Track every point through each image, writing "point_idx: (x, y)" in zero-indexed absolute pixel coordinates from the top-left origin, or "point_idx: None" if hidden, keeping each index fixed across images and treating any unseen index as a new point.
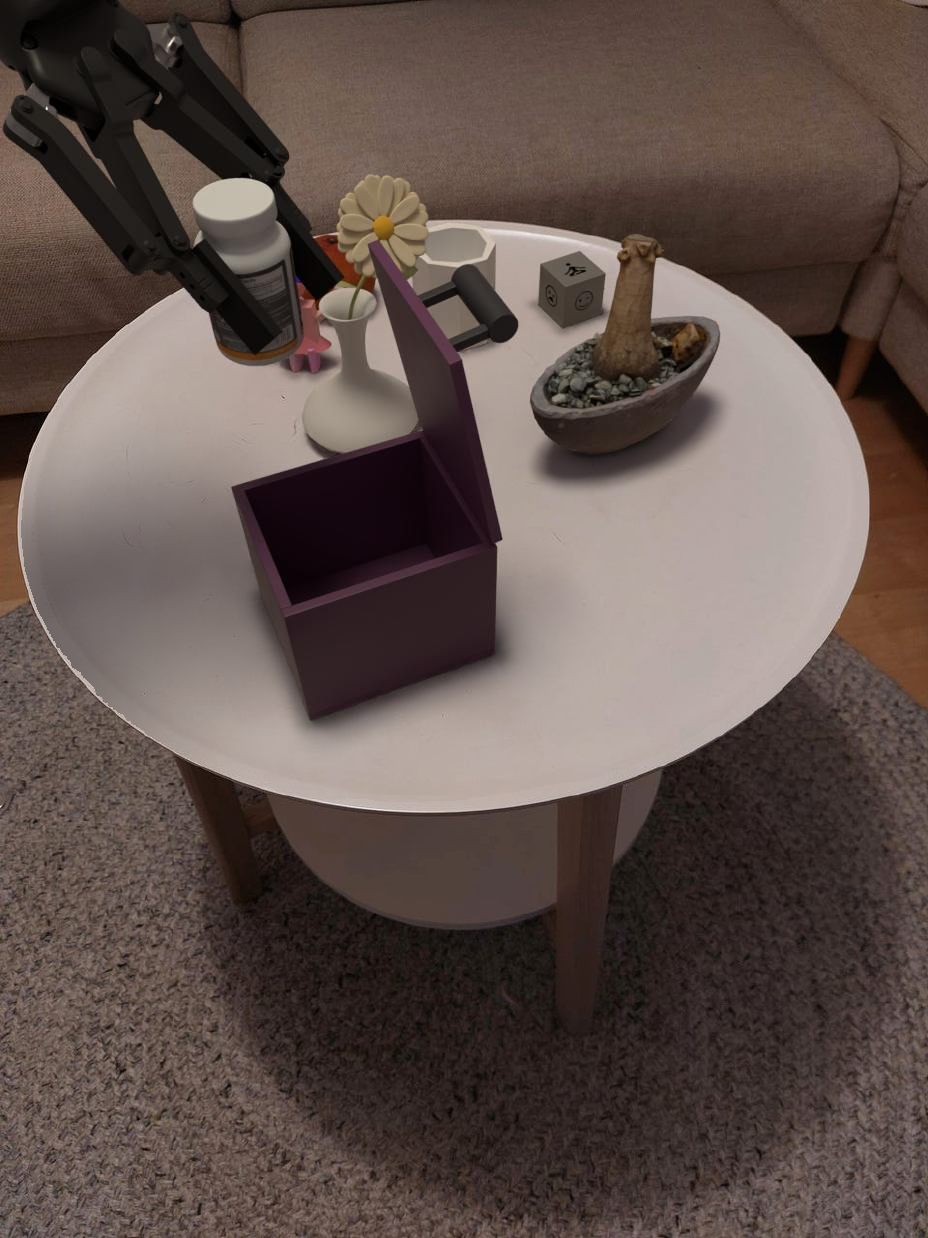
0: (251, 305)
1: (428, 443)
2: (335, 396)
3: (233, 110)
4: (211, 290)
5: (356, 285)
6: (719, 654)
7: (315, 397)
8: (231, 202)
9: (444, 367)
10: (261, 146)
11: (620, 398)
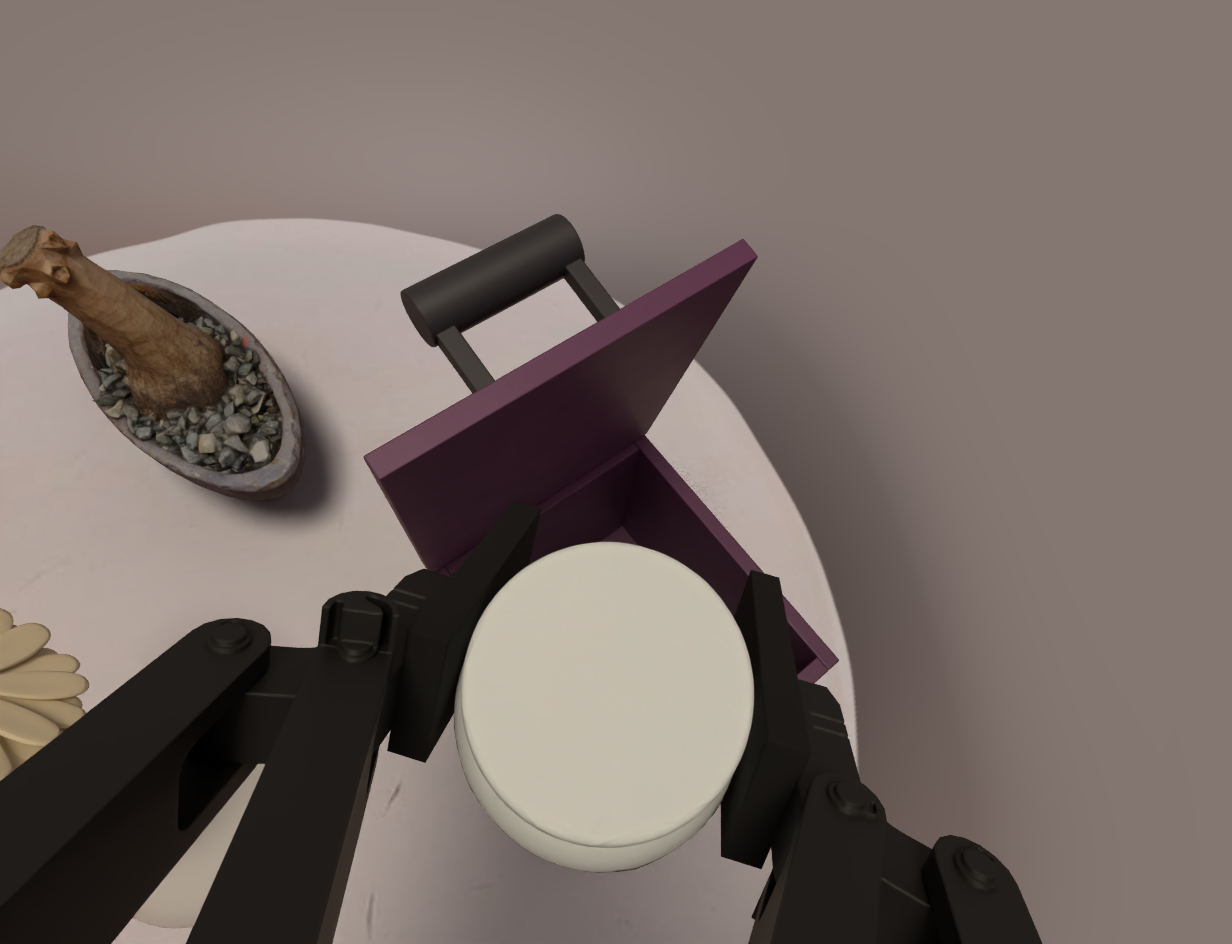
0: (777, 618)
1: (462, 558)
2: (209, 840)
3: (86, 834)
4: (824, 710)
5: None
6: (571, 320)
7: (190, 894)
8: (636, 675)
9: (718, 293)
10: (224, 705)
11: (259, 376)
